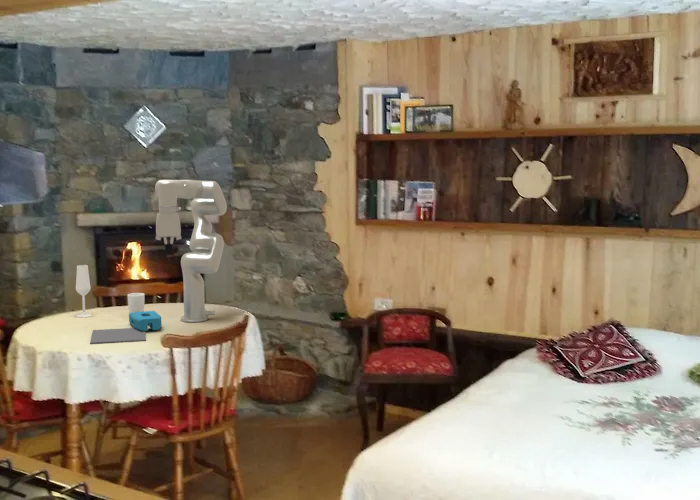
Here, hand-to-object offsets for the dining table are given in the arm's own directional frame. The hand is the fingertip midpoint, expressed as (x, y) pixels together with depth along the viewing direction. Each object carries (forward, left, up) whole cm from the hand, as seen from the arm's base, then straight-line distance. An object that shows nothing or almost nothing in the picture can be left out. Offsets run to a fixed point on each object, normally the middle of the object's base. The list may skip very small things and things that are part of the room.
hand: (168, 253), depth 325 cm
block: (+8, -4, -32) cm, 33 cm away
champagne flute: (+38, -44, -35) cm, 68 cm away
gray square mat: (+21, 0, -35) cm, 41 cm away
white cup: (+14, -40, -35) cm, 55 cm away
